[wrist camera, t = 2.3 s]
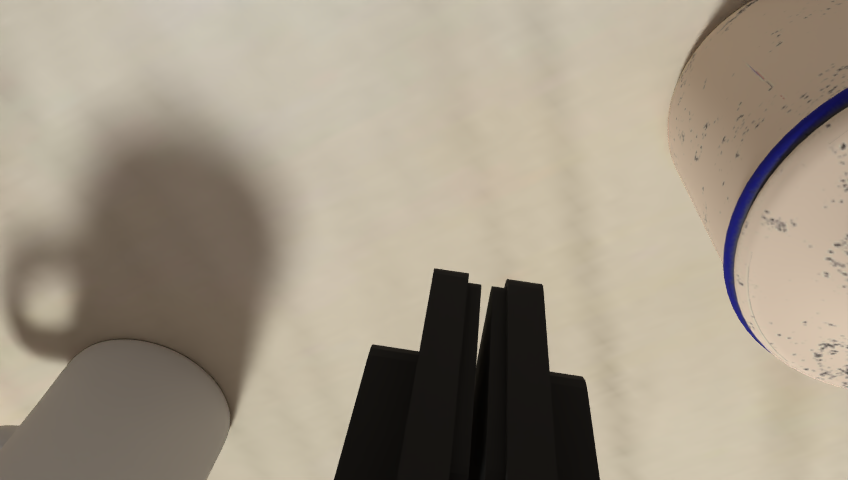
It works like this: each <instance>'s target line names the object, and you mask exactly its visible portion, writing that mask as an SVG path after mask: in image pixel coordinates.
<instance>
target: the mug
mask: <svg viewBox="0 0 848 480" xmlns="http://www.w3.org/2000/svg"><path fill="white" fill-rule="evenodd" d="M229 427H230V411H229V407H228V404H227V401H226V399H225V397H224V394H223V393H222V391H221V389H220V388H219V386H218V385H217V384H216V382H215V381H214V380H213V379H212V378H211V377H210V376H209V375H208V374H207V373H206V371H204V370H203V369H202V368H201V367H200V366H198V365H197V364H196V363H194V362H193V361H191V360H190V359H188V358H187V357H185V356H183V355H181V354H179V353H178V352H175V351H173V350H171V349H169V348H166V347H163V346H160V345H157V344H154V343H150V342H146V341H139V340H130V339H118V340H109V341H104V342H100V343H97V344H94V345H92V346H90V347H88V348H86V349H84V350H83V351H81V352H80V353H79V354H78V355H76V356H75V357H74V358H73V359H72V360H71V361H70V363H69V364H68V365H67V366H66V367H65V369H64V370H63V371H62V372H61V374H60V375H59V376H58V377H57V379H56V380H55V381H54V383H53V384H52V385H51V387H50V388H49V389H48V391H47V392H46V393H45V395H44V396H43V397H42V398H41V400H40V401H39V402H38V404H37V405H36V406H35V407H34V409H33V410H32V411H31V412H30V414H29V415H28V416H27V417H26V419H25V420H24V421H23V422H22V424H21V425H20V426H13V425H5V426H0V480H207V478H208V476H209V474H210V471H211V469H212V467H213V465H214V463H215V461H216V459H217V457H218V455H219V453H220V451H221V449H222V447H223V445H224V443H225V440H226V438H227V435H228V431H229Z"/></svg>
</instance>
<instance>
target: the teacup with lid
mask: <svg viewBox="0 0 848 480" xmlns="http://www.w3.org/2000/svg"><path fill="white" fill-rule="evenodd" d="M668 142H669V148H670V153H671V157H672V160H673V162H674V165H675V168H676V170H677V172H678V174H679V176H680V178H681V180H682V182H683V184H684V186H685V188H686V190H687V192H688V194H689V196H690V198H691V200H692V202H693V204H694V206H695V208H696V210H697V212H698V214H699V217H700V219H701V221H702V223H703V225H704V227H705V229H706V231H707V233H708V235H709V237H710V239H711V241H712V243H713V245H714V247H715V249H716V251H717V253H718V255H719V257H720V259H721V261H722V263H723V269H724V279H725V284H726V289H727V293H728V296H729V299H730V301H731V304H732V307H733V309H734V310H735V312H736V314H737V316H738V318H739V320H740V321H741V323H742V324H743V325H744V327H745V328H746V330H747V331H748V332H749V333H750V334H751V336H752V337H753V338H754V339H755V340H756V341H757V342H758V343H759V344H760V345H762V346H763V347H764V348H765V349H766V350H767V351H769V352H770V353H772V354H773V355H774V356H775V357H777V358H778V359H779V360H781V361H782V362H784V363H785V364H787V365H788V366H790V367H792V368H793V369H795V370H797V371H799V372H801V373H803V374H805V375H807V376H810V377H812V378H815V379H817V380H819V381H822V382H825V383H828V384H831V385H835V386H838V387H842V388H847V389H848V0H752V1H751V2H749V3H747V4H746V5H744V6H743V7H741V8H740V9H738V10H737V11H735V12H734V13H733V14H732V15H730V16H729V17H728V18H726V19H725V20H724V21H723V22H722V23H721V24H720V25H718V26H717V27H716V28H715V29H714V30H713V31H712V32H711V33H710V34H709V35H708V36H707V38H706V39H705V40H704V41H703V42H702V43H701V45H700V46H699V47H698V48H697V50H696V51H695V52H694V54H693V55H692V57H691V58H690V60H689V61H688V63H687V64H686V66H685V68H684V70H683V72H682V74H681V75H680V78H679V80H678V82H677V85H676V87H675V90H674V93H673V96H672V99H671V104H670V108H669V115H668Z"/></svg>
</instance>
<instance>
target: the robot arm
mask: <svg viewBox="0 0 848 480" xmlns="http://www.w3.org/2000/svg"><path fill="white" fill-rule="evenodd" d="M468 277H469V273H462V272H455V271H449V270H442V269H435V268H434V273H433V278H432V284H431V289H430V295H429V301H428V306H427V312H426V317H425V323H424V329H423V334H422V340H421V345H420V351H419V352H418V351H412V350H405V349H399V348H392V347H386V346H379V345H372V346H371V349H370V352H369V355H368V359H367V362H366V366H365V369H364V373H363V377H362V380H361V384H360V388H359V391H358V395H357V398H356V402H355V406H354V409H353V413H352V417H351V420H350V424H349V427H348V431H347V435H346V438H345V442H344V445H343V449H342V453H341V456H340V460H339V464H338V467H337V471H336V474H335V478H334V480H600V477H599V470H598V463H597V456H596V449H595V442H594V435H593V427H592V420H591V413H590V406H589V399H588V392H587V386H586V382H585V380H584V378H583V377H581V376H575V375H568V374H562V373H555V372H549V358H548V345H547V331H546V318H545V304H544V291H543V285H542V284H536V283H530V282H523V281H516V280H509V279H507V280H506V283H505V287H504V288H500V287H493V286H492V288H491V292H490V297H489V302H488V307H487V312H486V318H485V323H484V328H483V333H482V339H481V344H480V349H479V354H478V359H477V343H478V328H479V313H480V297H481V285H480V284H473V283H468ZM476 359H477V365H476Z"/></svg>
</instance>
